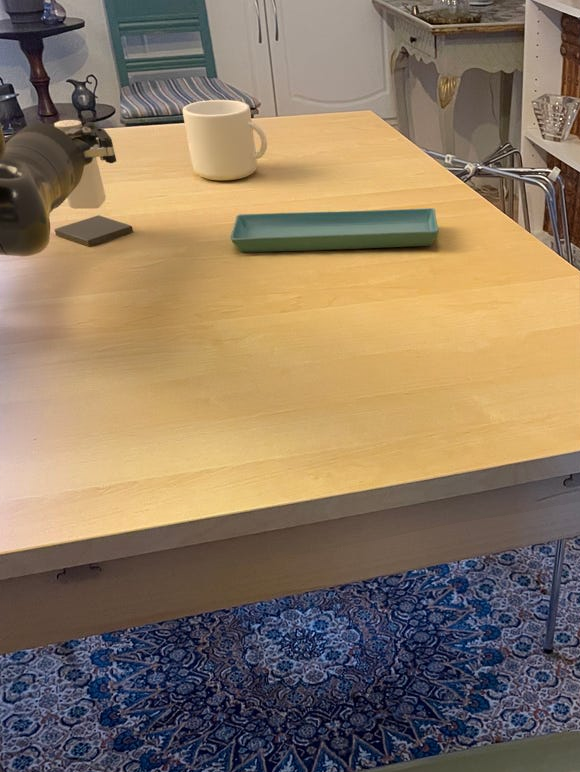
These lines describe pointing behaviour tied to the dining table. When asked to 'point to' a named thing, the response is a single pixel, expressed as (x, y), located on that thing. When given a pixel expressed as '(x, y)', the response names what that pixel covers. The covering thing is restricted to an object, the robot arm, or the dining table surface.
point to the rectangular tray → (334, 230)
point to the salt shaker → (85, 178)
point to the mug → (222, 139)
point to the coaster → (93, 230)
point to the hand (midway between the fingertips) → (76, 131)
